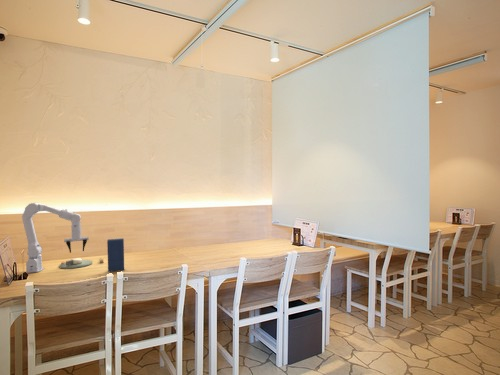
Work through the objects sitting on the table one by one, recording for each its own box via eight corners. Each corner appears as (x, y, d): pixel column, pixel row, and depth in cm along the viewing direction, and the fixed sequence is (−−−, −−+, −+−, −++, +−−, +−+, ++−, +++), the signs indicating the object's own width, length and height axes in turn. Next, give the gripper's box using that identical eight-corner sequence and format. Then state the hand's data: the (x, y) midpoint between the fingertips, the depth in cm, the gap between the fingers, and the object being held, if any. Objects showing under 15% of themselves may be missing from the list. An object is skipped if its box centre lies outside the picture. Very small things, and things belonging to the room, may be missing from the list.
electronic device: (124, 268, 209) (123, 238, 208) (124, 270, 204) (123, 239, 203) (108, 269, 205) (107, 239, 205) (107, 272, 201) (107, 240, 200)
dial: (76, 261, 224) (76, 257, 224) (84, 262, 222) (84, 257, 222) (62, 265, 213) (62, 261, 213) (71, 266, 211) (71, 261, 211)
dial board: (87, 267, 212) (87, 264, 212) (54, 269, 208) (54, 266, 208) (95, 260, 231) (95, 257, 231) (65, 262, 227) (65, 259, 227)
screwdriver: (103, 263, 224) (103, 260, 224) (100, 263, 223) (99, 260, 223) (102, 259, 234) (102, 256, 234) (99, 260, 233) (99, 257, 233)
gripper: (88, 230, 222) (88, 249, 222) (64, 231, 215) (64, 251, 216) (88, 231, 216) (89, 251, 216) (63, 233, 209) (64, 253, 209)
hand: (76, 251), depth 215 cm, fingers open, 7 cm apart
